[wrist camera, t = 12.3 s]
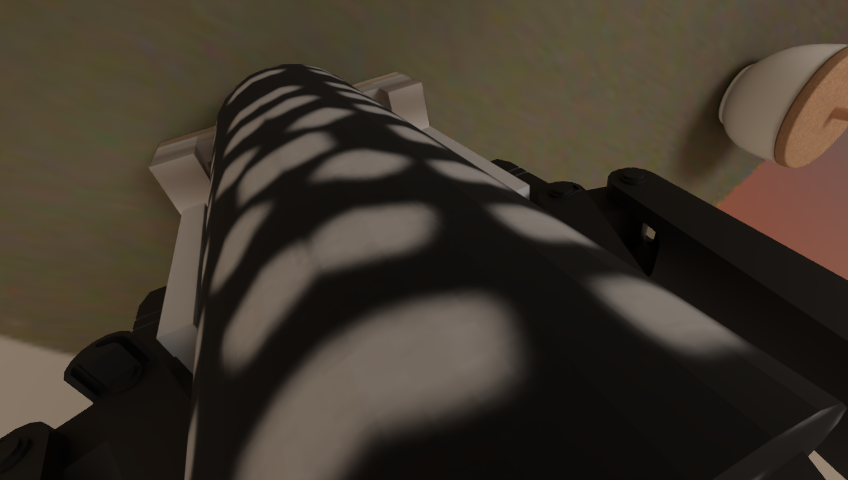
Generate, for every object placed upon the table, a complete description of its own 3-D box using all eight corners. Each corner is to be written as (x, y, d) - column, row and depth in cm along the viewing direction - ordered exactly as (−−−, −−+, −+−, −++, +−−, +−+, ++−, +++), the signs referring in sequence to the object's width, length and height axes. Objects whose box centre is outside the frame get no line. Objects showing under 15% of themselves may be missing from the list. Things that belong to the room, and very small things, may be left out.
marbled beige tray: (160, 142, 20) (140, 184, 16) (395, 71, 23) (437, 88, 19) (323, 397, 36) (337, 455, 31) (451, 333, 39) (481, 377, 34)
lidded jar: (748, 23, 34) (887, 29, 27) (794, 53, 40) (921, 65, 32) (685, 137, 39) (789, 168, 32) (733, 151, 44) (833, 180, 37)
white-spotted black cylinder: (222, 37, 16) (171, 734, 1) (394, 91, 20) (918, 362, 5) (207, 210, 19) (137, 1005, 4) (358, 225, 24) (607, 640, 8)
